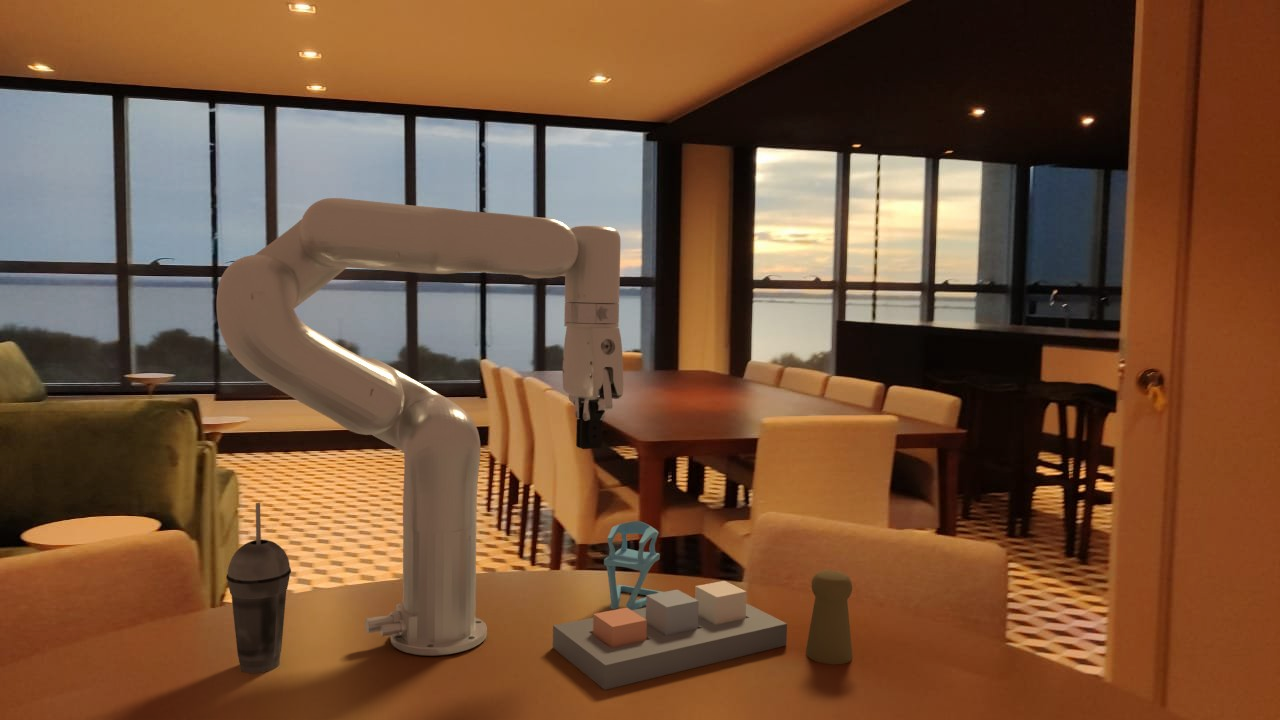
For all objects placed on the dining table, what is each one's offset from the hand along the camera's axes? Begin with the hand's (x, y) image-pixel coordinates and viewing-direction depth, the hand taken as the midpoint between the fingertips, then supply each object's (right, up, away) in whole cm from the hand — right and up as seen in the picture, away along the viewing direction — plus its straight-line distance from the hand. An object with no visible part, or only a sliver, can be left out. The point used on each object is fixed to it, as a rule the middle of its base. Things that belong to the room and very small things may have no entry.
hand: (588, 447), depth 122 cm
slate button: (+11, -23, -6) cm, 27 cm away
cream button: (+18, -23, -2) cm, 30 cm away
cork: (+32, -27, -7) cm, 42 cm away
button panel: (+11, -26, -6) cm, 29 cm away
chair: (+6, -25, +10) cm, 27 cm away
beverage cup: (-40, -26, -15) cm, 49 cm away
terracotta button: (+4, -25, -10) cm, 27 cm away
